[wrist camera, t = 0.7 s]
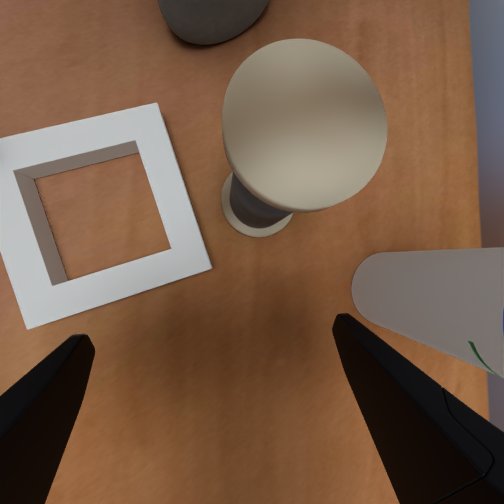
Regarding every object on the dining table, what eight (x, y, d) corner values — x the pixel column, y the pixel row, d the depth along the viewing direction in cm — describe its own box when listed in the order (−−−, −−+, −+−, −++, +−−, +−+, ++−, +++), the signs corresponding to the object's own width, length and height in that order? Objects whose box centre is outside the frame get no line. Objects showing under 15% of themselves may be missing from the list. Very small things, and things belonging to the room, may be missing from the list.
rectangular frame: (212, 267, 21) (204, 276, 11) (17, 332, 19) (-247, 427, 8) (162, 117, 21) (102, -33, 10) (-41, 165, 19) (-387, 41, 8)
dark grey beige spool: (304, 217, 23) (414, 163, 10) (242, 250, 22) (274, 238, 9) (271, 154, 22) (340, 14, 10) (208, 185, 22) (190, 77, 9)
